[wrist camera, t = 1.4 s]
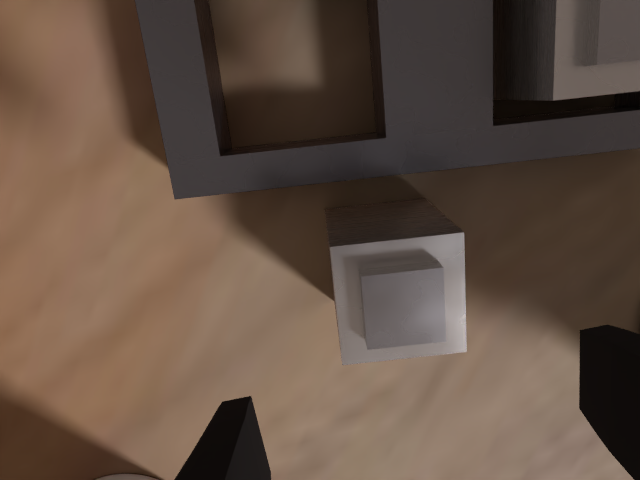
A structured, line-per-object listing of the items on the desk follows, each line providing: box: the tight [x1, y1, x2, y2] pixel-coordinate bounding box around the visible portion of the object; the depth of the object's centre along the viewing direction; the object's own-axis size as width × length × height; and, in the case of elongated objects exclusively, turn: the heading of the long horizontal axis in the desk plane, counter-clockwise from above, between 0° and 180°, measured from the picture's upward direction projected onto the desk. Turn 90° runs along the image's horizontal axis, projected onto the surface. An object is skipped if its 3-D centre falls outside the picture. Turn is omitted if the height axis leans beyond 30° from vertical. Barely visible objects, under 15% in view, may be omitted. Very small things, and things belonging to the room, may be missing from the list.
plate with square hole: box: [135, 0, 640, 199], centre depth 16 cm, size 18×8×2 cm, turn 96°
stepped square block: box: [325, 198, 467, 365], centre depth 17 cm, size 4×4×6 cm
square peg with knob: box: [493, 0, 640, 101], centre depth 15 cm, size 4×4×6 cm
